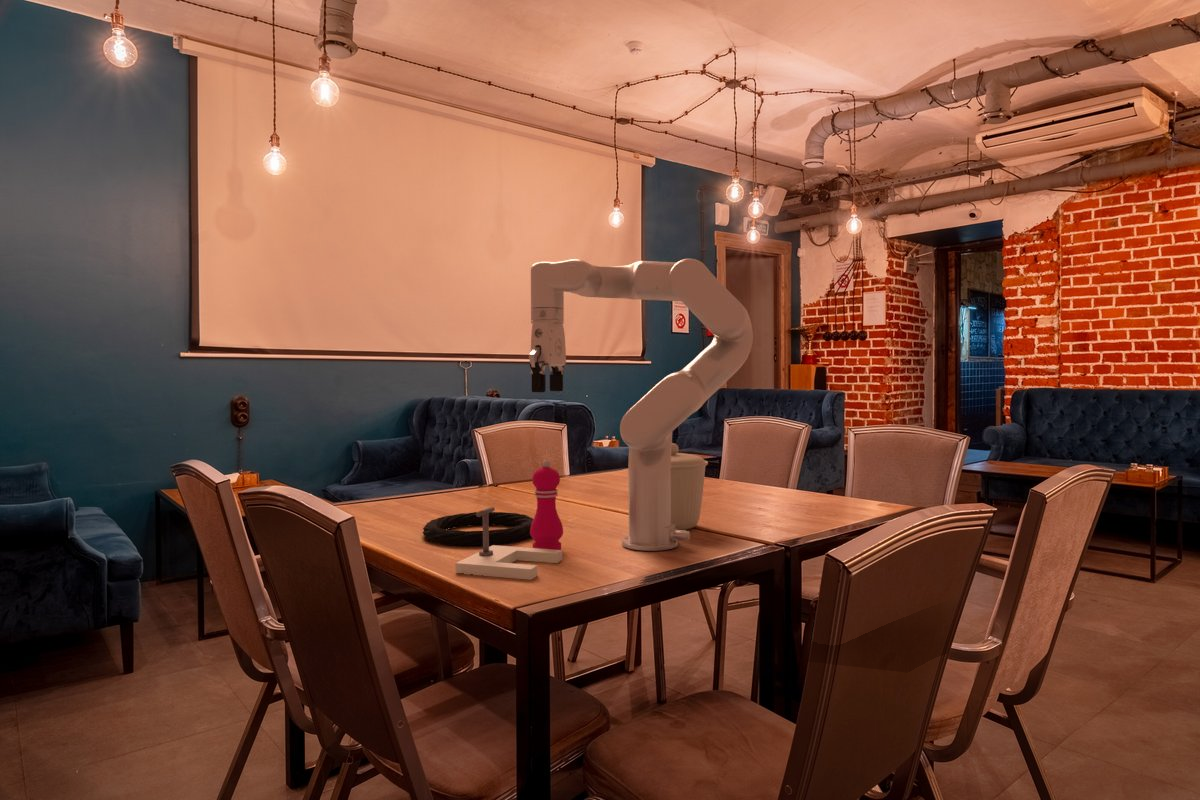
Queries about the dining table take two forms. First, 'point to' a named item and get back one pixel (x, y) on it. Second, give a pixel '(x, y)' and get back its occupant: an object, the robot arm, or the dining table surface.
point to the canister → (686, 488)
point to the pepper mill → (546, 509)
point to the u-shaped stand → (504, 557)
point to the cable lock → (439, 534)
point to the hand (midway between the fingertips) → (547, 391)
